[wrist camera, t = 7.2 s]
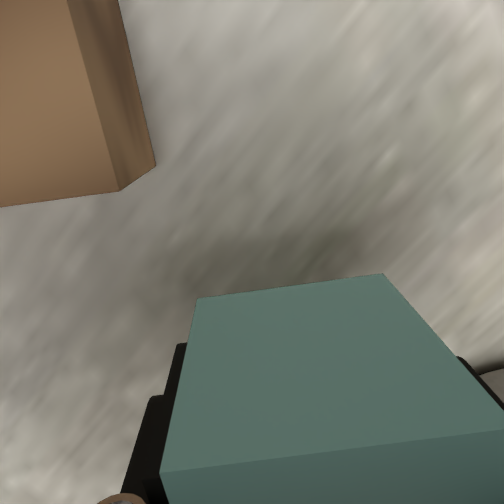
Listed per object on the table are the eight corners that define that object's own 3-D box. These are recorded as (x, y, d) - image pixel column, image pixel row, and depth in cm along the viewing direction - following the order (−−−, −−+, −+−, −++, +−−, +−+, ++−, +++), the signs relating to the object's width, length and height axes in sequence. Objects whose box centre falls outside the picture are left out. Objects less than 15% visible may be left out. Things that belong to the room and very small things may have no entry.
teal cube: (382, 415, 11) (481, 624, 7) (226, 435, 12) (218, 654, 7) (382, 273, 10) (518, 427, 5) (197, 298, 10) (159, 473, 5)
